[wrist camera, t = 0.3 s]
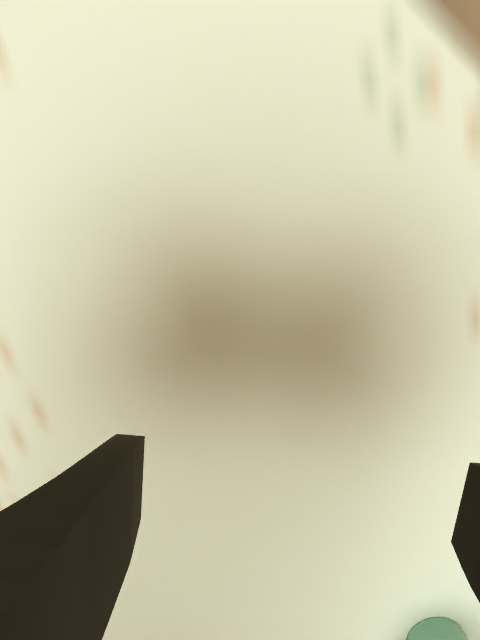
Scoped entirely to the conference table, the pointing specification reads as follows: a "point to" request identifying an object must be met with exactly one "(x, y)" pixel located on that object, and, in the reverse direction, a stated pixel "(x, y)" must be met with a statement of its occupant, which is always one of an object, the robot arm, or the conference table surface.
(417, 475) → the conference table surface
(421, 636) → the peg
